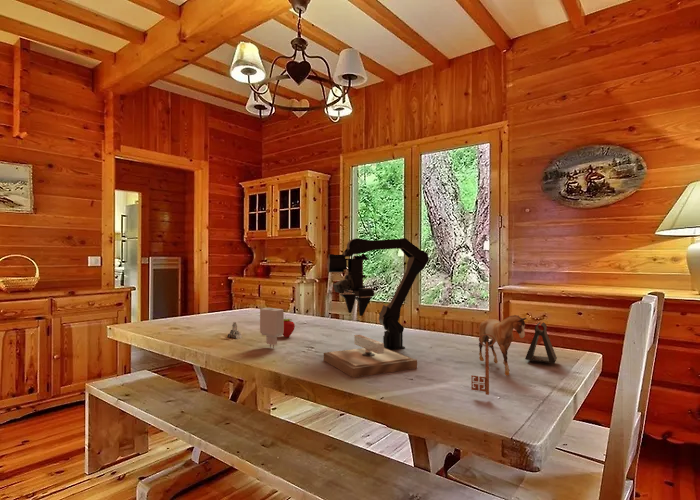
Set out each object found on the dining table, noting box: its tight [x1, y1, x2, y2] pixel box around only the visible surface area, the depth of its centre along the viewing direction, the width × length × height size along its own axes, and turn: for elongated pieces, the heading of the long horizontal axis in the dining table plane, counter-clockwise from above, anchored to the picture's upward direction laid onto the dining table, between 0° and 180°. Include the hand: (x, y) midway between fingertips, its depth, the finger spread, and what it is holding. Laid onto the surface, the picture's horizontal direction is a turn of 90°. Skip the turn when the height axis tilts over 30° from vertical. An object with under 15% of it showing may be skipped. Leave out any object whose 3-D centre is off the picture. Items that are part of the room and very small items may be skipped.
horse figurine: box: [478, 314, 528, 376], centre depth 129 cm, size 26×6×17 cm, turn 5°
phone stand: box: [524, 322, 558, 364], centre depth 138 cm, size 9×6×12 cm, turn 58°
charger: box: [259, 307, 285, 349], centre depth 154 cm, size 5×9×15 cm, turn 52°
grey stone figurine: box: [226, 321, 243, 340], centre depth 173 cm, size 9×9×8 cm
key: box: [470, 334, 496, 396], centre depth 103 cm, size 6×1×15 cm, turn 63°
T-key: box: [353, 334, 384, 354], centre depth 132 cm, size 16×2×5 cm, turn 26°
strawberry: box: [282, 318, 296, 338], centre depth 174 cm, size 6×8×10 cm
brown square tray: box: [323, 347, 418, 379], centre depth 132 cm, size 22×22×3 cm
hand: (355, 314), depth 154 cm, fingers open, 9 cm apart
